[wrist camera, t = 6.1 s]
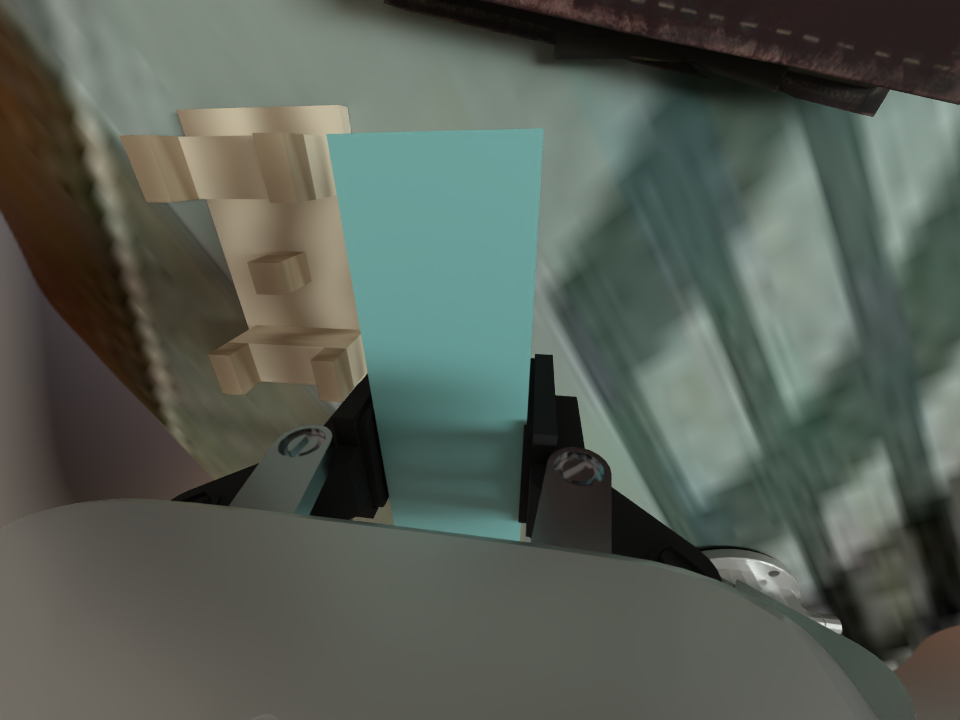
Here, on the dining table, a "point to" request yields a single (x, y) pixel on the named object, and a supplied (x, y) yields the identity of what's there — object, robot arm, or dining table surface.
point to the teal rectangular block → (445, 313)
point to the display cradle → (269, 237)
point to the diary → (748, 40)
